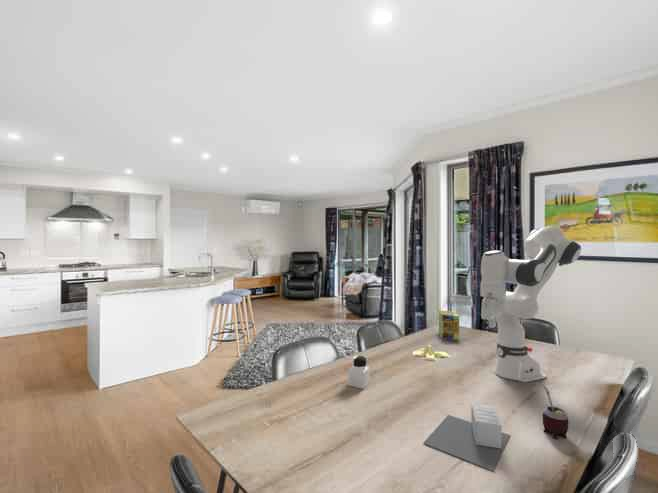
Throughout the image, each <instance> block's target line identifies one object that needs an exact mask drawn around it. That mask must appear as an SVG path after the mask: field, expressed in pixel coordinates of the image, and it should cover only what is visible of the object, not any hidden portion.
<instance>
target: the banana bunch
mask: <svg viewBox="0 0 658 493" xmlns="http://www.w3.org/2000/svg"><path fill="white" fill-rule="evenodd" d="M411 357H423V358H422V360H425V361H430V362H431V361H433V362H439V360H438V359H437V358H443V359H451V356H450V355H449V354H448V353H447V352H445V351H436V350H435V349H434V348H433V347H432V345H430V344H427V345H426V346H425V347H422V348H419V349H417V350H415V351H413V352H412V354H411ZM435 357H437V358H435Z"/></svg>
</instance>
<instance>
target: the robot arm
mask: <svg viewBox="0 0 658 493" xmlns="http://www.w3.org/2000/svg"><path fill="white" fill-rule="evenodd" d="M523 246H524V247H523V248H524V251H525V253H526V254H527V256H529V258H531V259H517V258H516V259H513V258H509V257H508V256H506V255H505V252H504V251H502V250H489V251H485V252H484V253H483V255H482V257H481V262H480V275H481V281H480V297H483V299H482V300H481V307H480V308H481V309H480V311H481V312H480V316H481V319H482V320H487V321H488V328H489V329H494V328H495V327H496V324H497V342H496V353H497V355H496V361H495V366H494V368H493V373H494V374H495V375H497V376H499V377H500V378H501V377H502V378H504V379H506V380H507V379H508V380H514V381H518V382H521V383H528V382H532V381H539V380H542V379H546V378H547V375H546V373H544V372H543V371H541V370H542V369H541V366H540V363H539V362H538V361H537V360H536V359H535V358H534V357H532V356H531V355H530V354H529V353H532V352H533V348H532V347H530V346H526V345H525V334H526V331H525V328H524V327H523V325H522V324H521V322H520V320H519V319H527V320H529V319H533V318H535V317H536V315H537V314H538V311H539V303H538V301H537V298H538V295H539V294H540V291H541V290H542V289H543V288H544V286H545V285H546V283H547V282H548V281H549V280H550V278H552V275H553V274H554V273H555V271H556V269H557V266H558V267H562V266H565V265H569V264H572V263H574V262H575V261H576V260H578V259H579V257H580V255H581V250H582V246H581V245H580V244H579V243H578V242H576V241H574V240H571V239H569V238H567V237H565V234H564V232H563V230H562V229H561V228H560V227H558V226H556V225H548V226H544V227H542V228H535V229H533V230H531V231H530V233H529V234H528V235H527V237H526V239H525V241H524V245H523ZM506 283H507V284H514V285H517V286H516V287H515V290H514V291H508V290H506Z"/></svg>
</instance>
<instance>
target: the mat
mask: <svg viewBox="0 0 658 493" xmlns="http://www.w3.org/2000/svg"><path fill="white" fill-rule="evenodd" d="M510 437H511V434H508V433H505V432H502V439H501V448H494V447H488V446H482V445H476V443H475V438H474V434H473V429H472V424H471V421H468V420H466V419H463V418H459V417H456V416H453V415H450V414H447V415H446V417H445V418H443V420H442V421H441V422H440V423H439V424H438V426H436V428H435V429H434V430H433V431H432V432H431V433H430V435H429V436H428V437H427V438H426V439H425V440H424V442H423V444H422V445H425V446H428V447H430V448H432V447H433V448H432V449H435V450H437V449H438V450H437V451H440V452H442V451H443V452H442V453H445V454H447V453H448V455H450V454H451V455H450V456H452V455H453V456H452V457H455V458H458V459H460V460H463V461H465V462H468V463H470V464H473V465H476V466H478V467H479V468H483V469H486V470H488V471H491V472H492V471H493V472H492V473H494V472H495V470H496V468H495V467H497V465H498V463H499V461H500V459H501V457H502V454H503V452H504V450H505V448H506V446H507V444H508V442H509V440H510ZM507 441H508V442H507ZM494 469H495V470H494Z"/></svg>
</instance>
